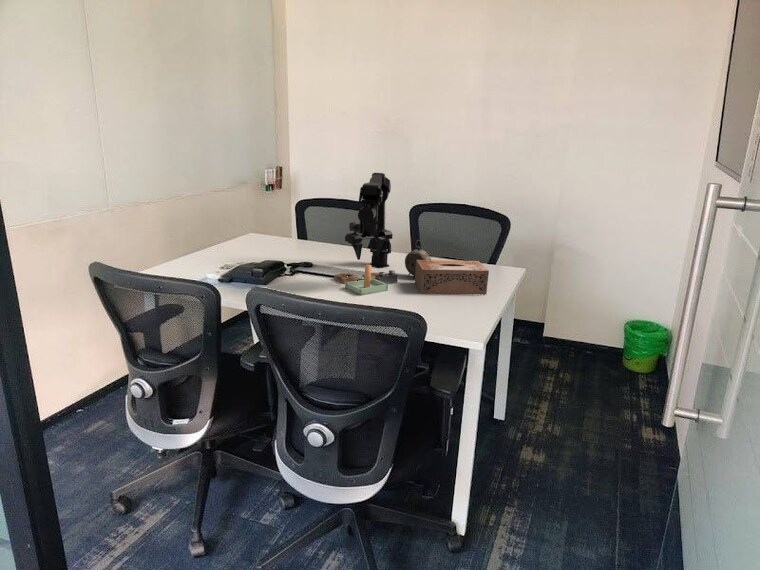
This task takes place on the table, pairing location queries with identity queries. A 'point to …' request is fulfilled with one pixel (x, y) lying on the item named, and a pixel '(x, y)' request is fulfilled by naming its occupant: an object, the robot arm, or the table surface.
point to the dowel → (367, 276)
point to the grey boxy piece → (387, 277)
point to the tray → (360, 290)
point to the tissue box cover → (451, 277)
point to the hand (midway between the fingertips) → (368, 258)
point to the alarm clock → (413, 256)
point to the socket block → (345, 277)
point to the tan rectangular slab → (373, 274)
